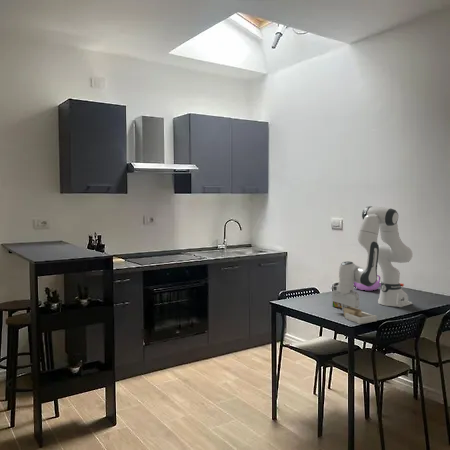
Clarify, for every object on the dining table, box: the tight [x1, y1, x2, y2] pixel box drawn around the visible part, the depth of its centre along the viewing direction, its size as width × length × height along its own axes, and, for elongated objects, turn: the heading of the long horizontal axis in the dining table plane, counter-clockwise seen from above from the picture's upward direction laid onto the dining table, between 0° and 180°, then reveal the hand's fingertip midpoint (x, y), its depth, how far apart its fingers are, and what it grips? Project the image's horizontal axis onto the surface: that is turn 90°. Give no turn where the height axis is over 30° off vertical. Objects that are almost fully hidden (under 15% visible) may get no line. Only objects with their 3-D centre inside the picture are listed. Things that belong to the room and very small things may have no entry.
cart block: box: [343, 307, 363, 317], centre depth 268 cm, size 6×8×5 cm
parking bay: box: [344, 311, 378, 325], centre depth 263 cm, size 14×12×3 cm
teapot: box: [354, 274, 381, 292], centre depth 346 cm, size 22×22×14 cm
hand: (345, 311), depth 273 cm, fingers closed
